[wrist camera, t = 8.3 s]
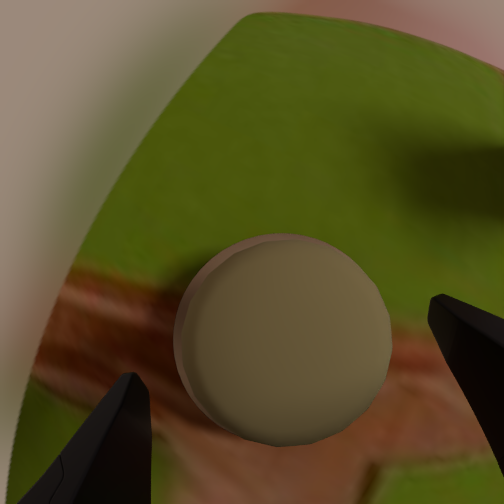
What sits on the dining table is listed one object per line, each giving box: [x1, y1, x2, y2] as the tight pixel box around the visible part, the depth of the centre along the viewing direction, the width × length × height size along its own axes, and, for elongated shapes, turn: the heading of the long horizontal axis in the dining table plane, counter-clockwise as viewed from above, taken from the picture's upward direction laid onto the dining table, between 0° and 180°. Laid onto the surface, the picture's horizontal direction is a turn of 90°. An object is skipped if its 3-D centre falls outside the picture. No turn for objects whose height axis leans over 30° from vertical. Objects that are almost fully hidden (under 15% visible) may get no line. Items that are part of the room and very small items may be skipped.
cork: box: [181, 239, 392, 447], centre depth 11 cm, size 6×6×11 cm
